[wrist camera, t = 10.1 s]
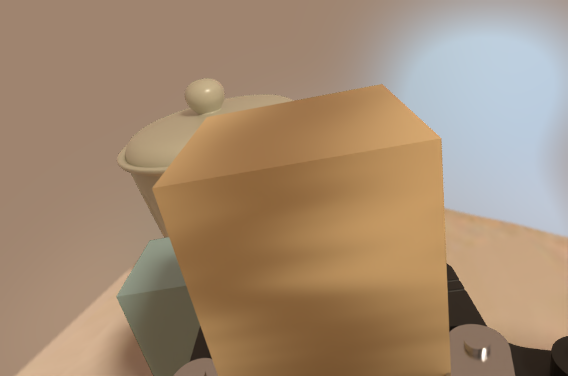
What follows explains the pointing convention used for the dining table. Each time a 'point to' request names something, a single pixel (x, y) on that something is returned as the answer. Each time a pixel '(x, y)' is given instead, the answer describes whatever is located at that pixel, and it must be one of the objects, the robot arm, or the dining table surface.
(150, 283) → the frame base
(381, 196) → the oak post
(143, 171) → the canister
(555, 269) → the dining table surface
